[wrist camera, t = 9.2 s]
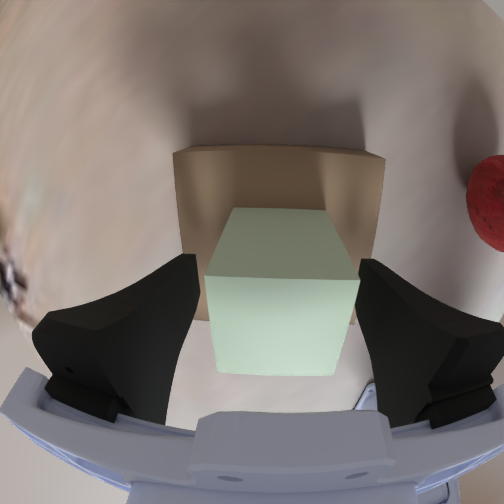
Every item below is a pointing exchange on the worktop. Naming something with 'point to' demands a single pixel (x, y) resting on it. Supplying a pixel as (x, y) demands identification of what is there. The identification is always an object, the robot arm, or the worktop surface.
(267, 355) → the sage block
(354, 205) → the walnut base
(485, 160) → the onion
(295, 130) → the worktop surface
